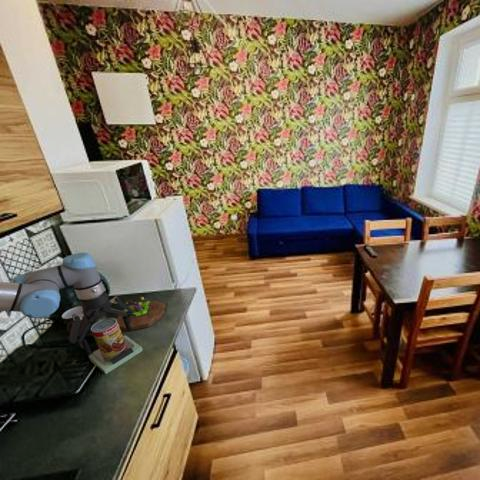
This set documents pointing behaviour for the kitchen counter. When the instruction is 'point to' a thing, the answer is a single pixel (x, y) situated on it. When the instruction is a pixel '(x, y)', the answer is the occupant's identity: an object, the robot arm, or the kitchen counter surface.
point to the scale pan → (108, 359)
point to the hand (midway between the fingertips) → (110, 340)
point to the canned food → (108, 337)
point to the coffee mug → (69, 319)
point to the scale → (117, 357)
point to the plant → (143, 314)
